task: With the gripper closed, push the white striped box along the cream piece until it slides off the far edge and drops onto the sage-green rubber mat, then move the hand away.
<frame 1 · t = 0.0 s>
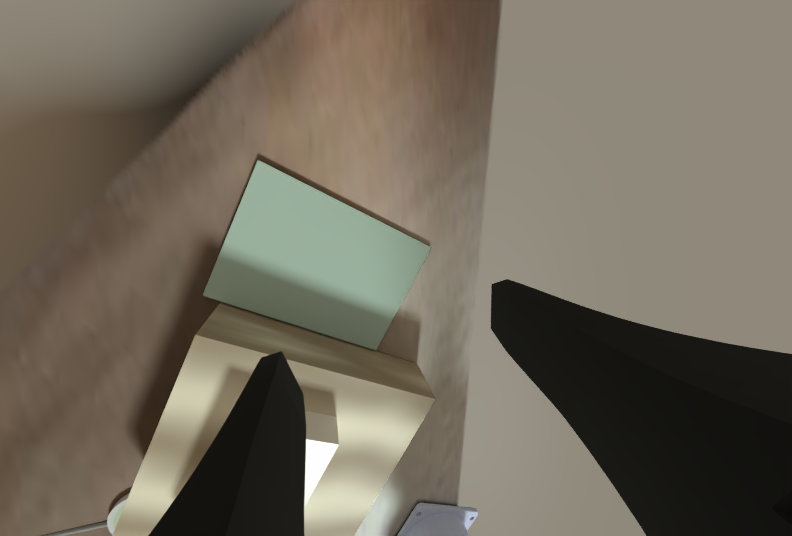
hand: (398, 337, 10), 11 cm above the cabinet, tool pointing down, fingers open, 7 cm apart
cream piece: (293, 413, 22), on the cabinet
white striped box: (260, 465, 17), point 4 cm above the cabinet, touching cream piece
sign: (79, 520, 21), on the cabinet
mat: (325, 268, 19), on the cabinet
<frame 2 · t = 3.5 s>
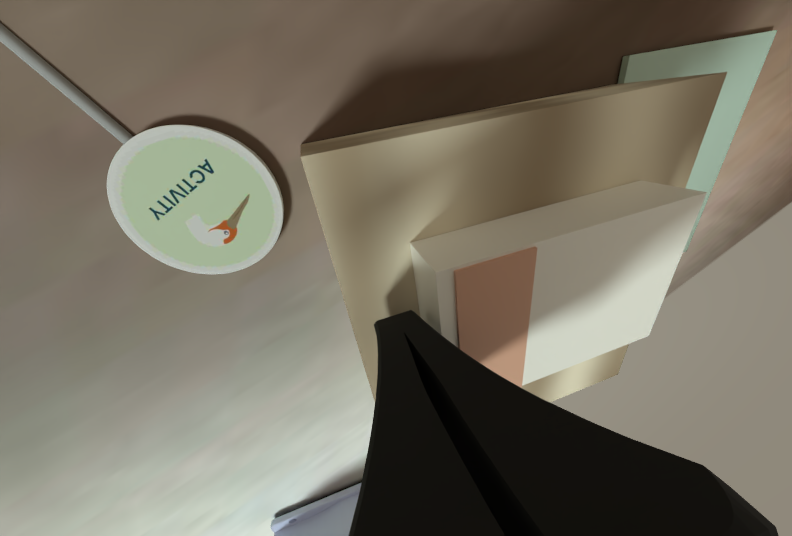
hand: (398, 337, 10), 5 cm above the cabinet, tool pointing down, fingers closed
cream piece: (475, 268, 15), on the cabinet
white striped box: (527, 282, 11), point 4 cm above the cabinet, touching gripper
sign: (61, 71, 8), on the cabinet
mat: (659, 175, 16), on the cabinet
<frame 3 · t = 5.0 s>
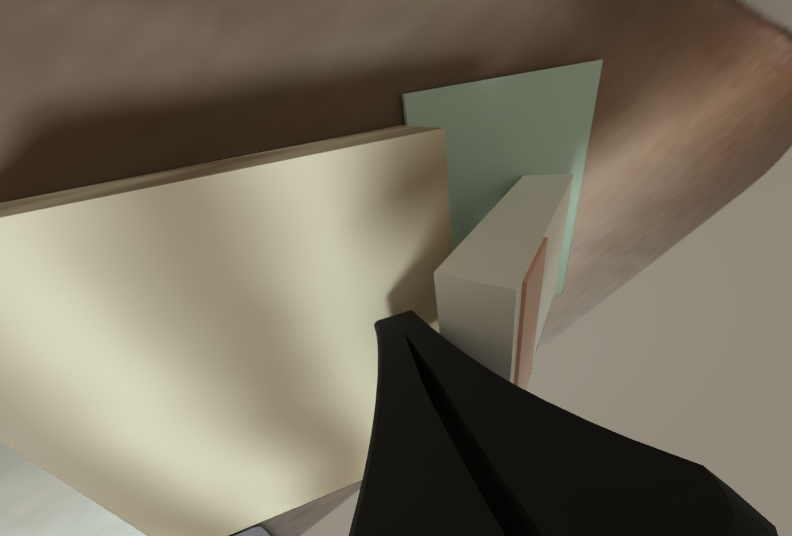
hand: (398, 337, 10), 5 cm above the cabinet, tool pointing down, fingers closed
cream piece: (284, 326, 13), on the cabinet
white striped box: (490, 278, 12), point 3 cm above the cabinet, tilted 39°, touching gripper
mat: (500, 218, 14), on the cabinet
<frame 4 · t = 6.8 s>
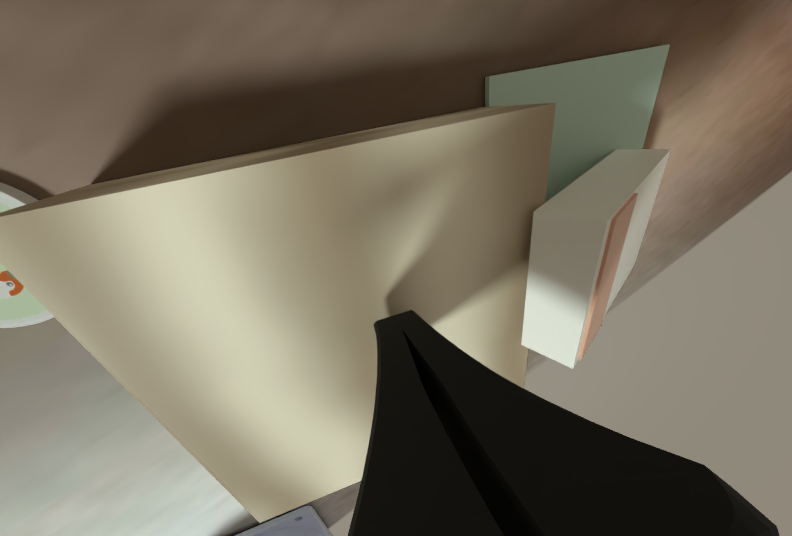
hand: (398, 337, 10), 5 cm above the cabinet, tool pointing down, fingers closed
cream piece: (355, 304, 14), on the cabinet
white striped box: (572, 240, 13), point 2 cm above the cabinet, tilted 27°, touching cream piece, mat
mat: (560, 200, 15), on the cabinet
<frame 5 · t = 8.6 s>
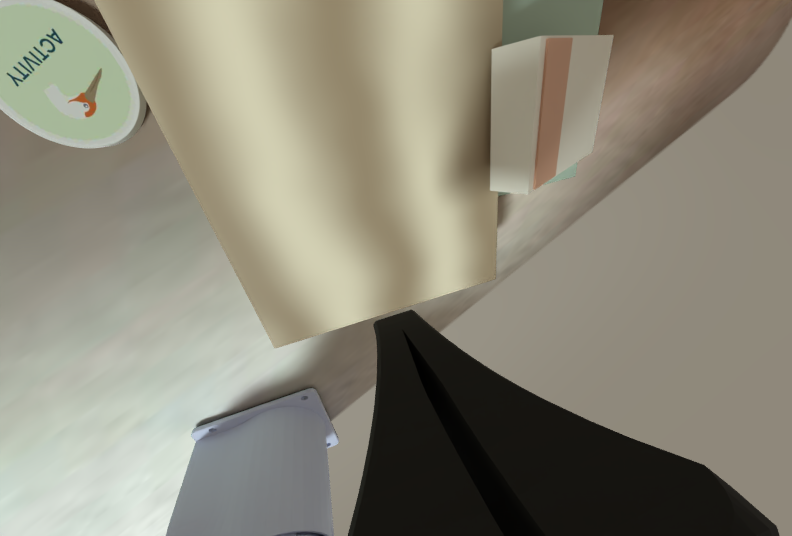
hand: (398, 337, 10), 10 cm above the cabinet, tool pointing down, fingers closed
cream piece: (354, 174, 17), on the cabinet
white striped box: (533, 113, 16), point 2 cm above the cabinet, tilted 27°, touching cream piece, mat
mat: (527, 92, 18), on the cabinet
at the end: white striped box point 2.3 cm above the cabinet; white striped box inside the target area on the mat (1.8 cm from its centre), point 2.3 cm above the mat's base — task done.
